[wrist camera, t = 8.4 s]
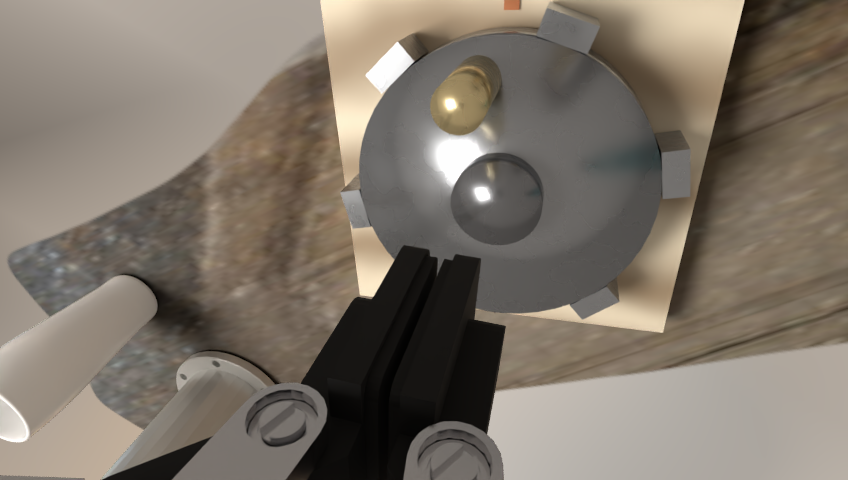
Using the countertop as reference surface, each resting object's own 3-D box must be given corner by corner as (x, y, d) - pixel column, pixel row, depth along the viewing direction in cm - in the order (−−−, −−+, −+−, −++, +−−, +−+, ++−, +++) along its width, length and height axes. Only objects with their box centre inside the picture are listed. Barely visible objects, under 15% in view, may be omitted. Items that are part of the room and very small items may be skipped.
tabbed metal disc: (680, 288, 32) (708, 383, 25) (397, 299, 39) (357, 377, 32) (679, -29, 24) (720, -16, 17) (320, 54, 31) (245, 87, 24)
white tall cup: (178, 303, 49) (42, 427, 36) (149, 331, 52) (15, 453, 40) (123, 254, 47) (-40, 366, 35) (96, 286, 51) (-60, 398, 38)
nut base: (658, 314, 36) (662, 334, 34) (369, 280, 41) (359, 296, 40) (741, -38, 25) (754, -36, 23) (332, -21, 30) (316, -19, 29)
